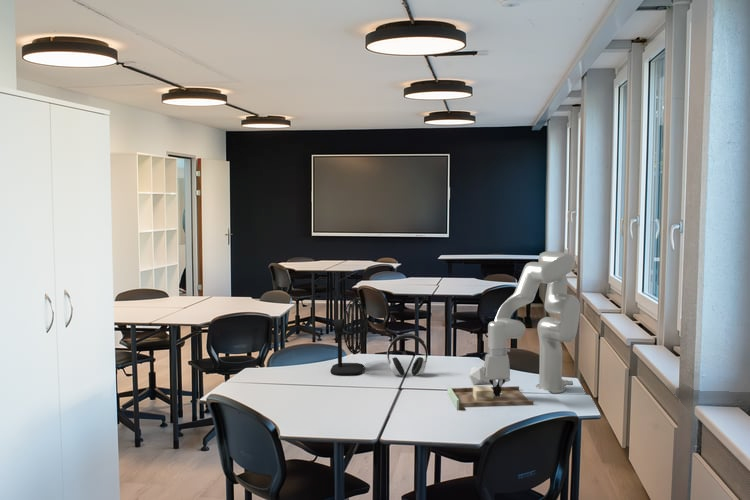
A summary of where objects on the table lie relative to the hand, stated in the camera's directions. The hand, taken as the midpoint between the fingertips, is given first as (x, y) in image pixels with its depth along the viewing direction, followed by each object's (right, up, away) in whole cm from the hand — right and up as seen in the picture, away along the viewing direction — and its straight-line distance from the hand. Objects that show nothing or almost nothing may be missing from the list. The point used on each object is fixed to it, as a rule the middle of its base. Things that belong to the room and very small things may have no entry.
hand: (496, 395), depth 289 cm
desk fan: (-63, +1, +52) cm, 81 cm away
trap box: (-4, -2, 0) cm, 4 cm away
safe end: (-18, -3, -1) cm, 18 cm away
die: (-4, -1, +26) cm, 26 cm away
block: (-6, -1, 0) cm, 6 cm away
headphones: (-35, 0, +42) cm, 54 cm away
